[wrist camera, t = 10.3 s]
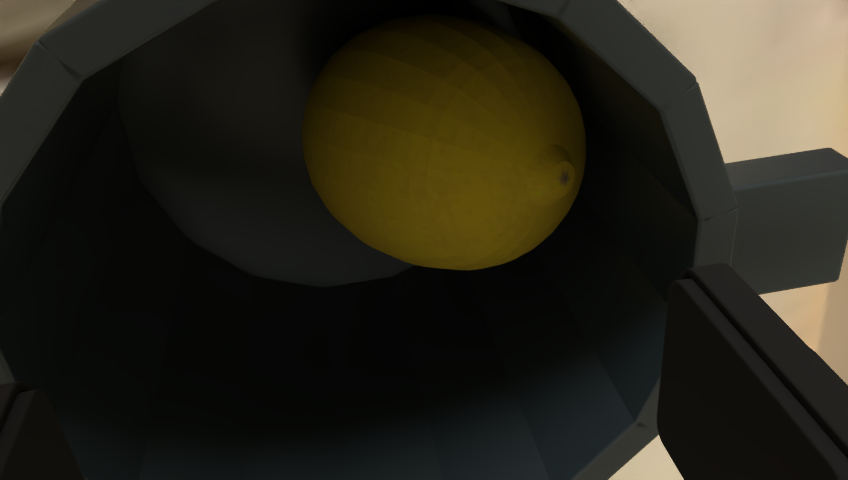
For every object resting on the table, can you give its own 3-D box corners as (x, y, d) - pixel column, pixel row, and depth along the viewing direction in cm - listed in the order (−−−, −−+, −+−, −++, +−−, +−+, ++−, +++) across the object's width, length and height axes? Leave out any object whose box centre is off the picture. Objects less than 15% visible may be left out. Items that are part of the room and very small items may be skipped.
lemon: (454, 145, 23) (680, 210, 17) (308, 255, 21) (505, 375, 15) (383, -32, 20) (628, -32, 14) (206, 77, 18) (399, 135, 12)
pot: (-98, -94, 17) (-506, 18, 8) (649, -175, 19) (981, -154, 10) (75, 338, 24) (-50, 667, 15) (625, 248, 25) (815, 492, 16)
